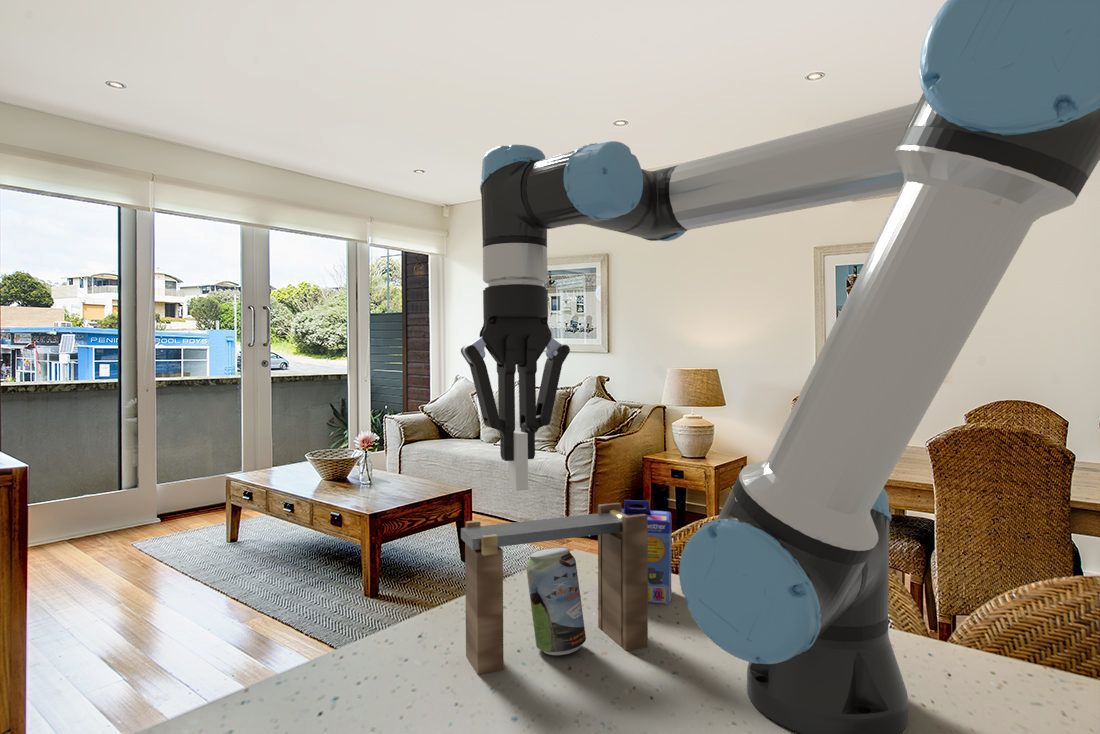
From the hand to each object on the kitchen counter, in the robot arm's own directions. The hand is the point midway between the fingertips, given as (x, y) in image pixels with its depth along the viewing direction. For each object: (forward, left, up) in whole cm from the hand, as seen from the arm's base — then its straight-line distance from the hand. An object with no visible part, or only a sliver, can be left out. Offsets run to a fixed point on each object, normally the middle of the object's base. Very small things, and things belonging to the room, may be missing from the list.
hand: (518, 487), depth 77 cm
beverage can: (-2, -4, -20) cm, 21 cm away
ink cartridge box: (-1, -25, -20) cm, 32 cm away
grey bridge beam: (-2, -4, -6) cm, 8 cm away
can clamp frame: (-2, -4, -20) cm, 21 cm away
